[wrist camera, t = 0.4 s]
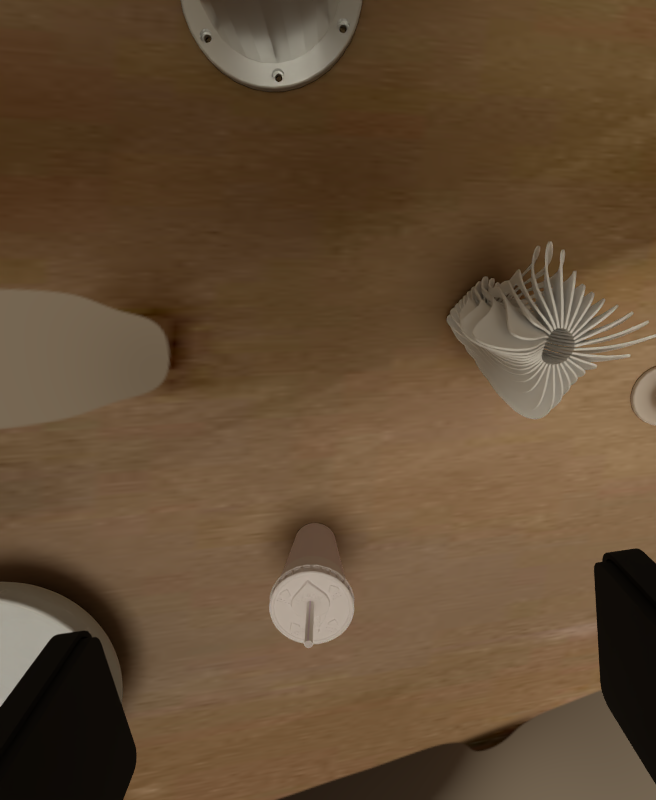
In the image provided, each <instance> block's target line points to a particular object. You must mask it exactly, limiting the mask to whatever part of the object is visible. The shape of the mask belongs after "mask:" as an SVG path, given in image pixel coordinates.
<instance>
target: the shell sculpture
mask: <svg viewBox="0 0 656 800" xmlns="http://www.w3.org/2000/svg"><path fill="white" fill-rule="evenodd" d="M539 253H540V246H537V247H536V248H535V251H534V254H533V258H532V263H531V265H530V266H529V267H528V268H527V269H526V270H525V271H524V272H523V273H522V274H521V270H520V269H518V270H517V271H516V272H515V274H514V275H513V276H512V277H511V279H510V280H507V281H504V282H502V283H501V284H500V283H499V282H496V283H495V286H494V282H495V279H494V278H491V279H490V280H489V283H488V277H486V276H484V277H483V278H482V280H481V281H478V282H477V283H476V285H475V286H474V287H472V288H471V291H468V292H467V295H465V296H463V299H461V300H459V303H457V304H456V305H455V308H452V309H451V311H450V314H449V315H448V316H447V323H448V324H449V326H450V327H451V329H452V331H453V333H454V335H455V336H456V338H457V339H458V340H459V341H460V342H461V343H462V344H463V345H465V348H466V351H467V352H468V354H469V355H470V356H471V357H472V358H473V359H475V362H476V364H477V366H478V368H479V369H480V371H481V372H482V373H483V374H484V376H485V377H486V378H487V379H488V381H489V382H490V384H491V386H492V387H493V388H494V390H495V391H496V392H497V394H498V395H499V396H500V397H501V398H502V399H503V400H504V401H505V402H506V403H507V404H508V405H509V406H510V407H511V408H512V409H513V410H514V411H516V412H517V413H518V414H520V415H522V416H524V417H527V418H530V419H540V418H542V417H544V416H546V415H547V414H548V413H549V412H550V410H551V409H552V408H554V407H555V406H556V405H557V404H558V403H559V402H560V401H561V399H562V396H563V395H564V394H565V393H566V392H568V390H569V389H570V386H571V385H573V384H574V383H575V382H576V381H577V379H578V378H577V377H581V376H583V375H584V374H585V370H590V369H595V368H597V365H596V364H593V363H590V362H599V361H609V360H616V359H622V358H627V357H630V354H627V355H611V356H603V355H589V353H600V352H606V351H611V350H615V349H619V348H623V347H627V346H630V345H634V344H637V343H640V342H643V341H646V340H649V339H652V338H654V337H656V334H655V335H652V336H648V337H645V338H642V339H638V340H635V341H631V342H627V343H622V344H617V345H610V346H603V347H594V348H573V347H577V346H582V345H588V344H596V343H601V342H605V341H609V340H612V339H615V338H618V337H621V336H624V335H626V334H629V333H631V332H633V331H636V330H638V329H640V328H641V327H643V326H645V325H647V324H648V323H649V321H645V322H643V323H641V324H639V325H637V326H634V327H632V328H630V329H627V330H624V331H622V332H619V333H616V334H613V335H610V336H606V337H602V338H597V339H591V340H584V339H586V338H589V337H591V336H593V335H596V334H598V333H601V332H604V331H607V330H609V329H611V328H614V327H616V326H617V325H619V324H621V323H623V322H624V321H626V320H627V319H628V318H630V317H631V316H632V315H633V314H634V313H633V312H630V313H629V314H627V315H625V316H624V317H622V318H620V319H618V320H616V321H614V322H612V323H610V324H607V325H605V326H602V327H600V328H597V329H594V330H590V329H591V328H593V327H594V326H596V325H597V324H599V323H600V322H601V321H603V320H604V319H605V318H607V317H608V316H609V315H610V314H611V313H612V312H614V311H615V310H616V309H617V307H618V305H616V306H614V307H613V308H611V309H609V310H608V311H606V312H605V313H603V314H601V315H599V316H597V317H595V318H593V319H592V317H593V316H594V315H595V314H596V313H597V312H598V311H599V310H600V308H601V307H602V305H603V304H604V302H605V299H604V298H603V299H601V300H600V301H599V302H597V303H596V304H594V305H592V306H591V307H590V305H591V303H592V301H593V298H594V293H593V292H590V293H589V294H587V295H586V296H584V292H585V285H584V284H581V285H579V286H578V287H577V288H575V281H576V271H573V273H572V275H571V276H570V277H569V278H568V279H567V280H566V281H565V282H563V270H562V266H563V263H564V259H565V251H564V250H561V254H560V267H559V269H558V271H557V272H556V273H555V274H554V275H553V276H552V277H550V278H549V275H548V265H549V263H550V261H551V259H552V255H553V244H552V242H551V241H550V242H548V244H547V247H546V253H545V267H544V268H543V269H542V270H541V271H539V272H538V273H537V274H534V264H535V261H536V260H537V258H538V256H539ZM531 268H532V269H531ZM530 269H531V278H529V279H528V280H527V281H525V282H523V279H522V277H523V276H524V275H525V274H526V273H527V272H528V271H529V270H530ZM543 275H544V281H543V282H541V283H538V284H537V282H536V279H537V278H539V277H541V276H543ZM529 282H531V283H532V287H531V288H529V289H526V287H525V284H526V283H529ZM516 285H517V286H518V287H517V288H516V289H515V290H514V287H515V286H516ZM493 287H494V288H493ZM551 287H553V288H551ZM540 288H544V291H542V292H540V290H539V289H540ZM574 288H575V289H574ZM519 289H520V290H521V291H522V293H520V294H518V295H517V294H516V292H517V291H518V290H519ZM487 290H488V291H487ZM532 290H533V292H534V295H531V296H530V295H529V293H528V291H532ZM508 294H509V295H508ZM507 295H508V296H507ZM521 295H524V296H525V298H524V299H522V300H520V299H519V298H520V296H521ZM506 296H507V297H506ZM543 296H544V298H543ZM583 296H584V297H583ZM494 297H495V299H494ZM512 297H514V298H512ZM498 298H499V299H498ZM532 298H535V299H536V302H533V300H532ZM486 299H487V302H486ZM497 299H498V301H496V300H497ZM502 300H503V301H502ZM489 301H490V302H489ZM501 301H502V302H501ZM526 303H528V304H526ZM536 304H537V306H538V308H537V306H536ZM530 308H532V309H530ZM532 311H533V312H532ZM588 330H589V331H588ZM582 340H583V341H582ZM550 343H552V344H550ZM554 344H557V345H554ZM558 345H562V346H558ZM563 346H569V347H563ZM545 349H548V350H551V351H548V350H545ZM552 351H555V352H552ZM556 352H559V353H556ZM560 353H562V354H560Z"/></svg>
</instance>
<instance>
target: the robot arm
mask: <svg viewBox="0 0 656 800" xmlns="http://www.w3.org/2000/svg"><path fill="white" fill-rule="evenodd" d="M181 5H182V10H183V14H184V16H185V19H186V22H187V24H188V27H189V30H190V32H191V34H192V35H193V37H194V39H195V41H196V42H197V44H198V45H199V47H200V49H201V50H202V51H203V53H204V54H205V56H206V57H207V58H208V60H209V61H210V62H211V63H212V64H213V65H214V66H215V67H216V68H218V69H219V70H220V71H221V72H222V73H223V74H225V75H226V76H228V77H229V78H231V79H232V80H234V81H235V82H237V83H240V84H242V85H244V86H247V87H249V88H252V89H257V90H262V91H267V92H273V91H288V90H292V89H296V88H300V87H302V86H305V85H307V84H309V83H311V82H313V81H315V80H317V79H318V78H319V77H321V76H322V75H323V74H325V73H326V72H327V71H329V70H330V69H331V68H332V66H333V65H334V64H335V63H336V62H337V61H338V60H339V59H340V58H341V56H342V55H343V53H344V52H345V50H346V48H347V47H348V45H349V43H350V42H351V40H352V37H353V35H354V32H355V30H356V27H357V24H358V21H359V16H360V11H361V7H362V0H181ZM341 27H345V28H346V30H347V31H346V32H345V33H341V32H340V30H339V29H340V28H341ZM207 37H211V38H212V39H211V41H210V42H209V43H206V42H205V40H206V38H207ZM277 76H281V77H282V81H281V82H277V81H276V77H277ZM594 576H595V594H596V612H597V630H598V648H599V665H600V683H601V689H602V693H603V696H604V699H605V701H606V703H607V705H608V707H609V709H610V710H611V712H612V714H613V715H614V717H615V719H616V720H617V722H618V723H619V725H620V727H621V728H622V730H623V732H624V733H625V735H626V737H627V738H628V740H629V741H630V743H631V744H632V746H633V748H634V750H635V751H636V753H637V754H638V756H639V758H640V759H641V761H642V763H643V764H644V766H645V768H646V769H647V771H648V772H649V774H650V776H651V777H652V779H653V780H654V782H655V784H656V563H655V562H654V561H652V560H651V559H650V558H649V557H648V556H647V555H646V554H645V553H644V552H643V551H641V550H640V549H629V550H622V551H615V552H609V553H605V554H604V556H603V559H602V562H598V563H596V564H595V566H594ZM135 765H136V747H135V744H134V741H133V738H132V735H131V732H130V729H129V726H128V723H127V719H126V716H125V713H124V710H123V707H122V704H121V701H120V698H119V695H118V692H117V689H116V686H115V683H114V680H113V677H112V674H111V671H110V668H109V665H108V662H107V659H106V656H105V653H104V650H103V647H102V644H101V642H100V640H99V639H98V638H97V637H92V635H91V634H90V633H89V632H88V631H85V630H84V631H77V632H70V633H63V634H57V635H55V636H53V637H52V638H51V639H50V640H49V642H48V643H47V644H46V646H45V647H44V648H43V650H42V651H41V652H40V654H39V655H38V656H37V658H36V659H35V661H34V662H33V663H32V665H31V666H30V667H29V669H28V670H27V671H26V673H25V674H24V675H23V677H22V678H21V679H20V681H19V682H18V684H17V685H16V686H15V688H14V689H13V690H12V692H11V693H10V694H9V696H8V697H7V698H6V700H5V701H4V702H3V704H2V705H1V707H0V800H123V799H124V796H125V793H126V791H127V788H128V786H129V783H130V780H131V778H132V775H133V773H134V769H135Z"/></svg>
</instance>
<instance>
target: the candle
mask: <svg viewBox="0 0 656 800" xmlns="http://www.w3.org/2000/svg"><path fill="white" fill-rule="evenodd" d="M631 405H632V409H633V411H634V413H635V414H636V416H637V417H639V418H640V419H641V420H642V421H644V422H646V423H649V424H651V425H656V367H654V368H651V369H649V370H648V371H646V372H645V373H643V374H642V375H641V377H640V378H639V379H638V380H637V381H636V383H635V385H634V387H633V389H632V393H631Z"/></svg>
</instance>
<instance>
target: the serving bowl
mask: <svg viewBox="0 0 656 800" xmlns="http://www.w3.org/2000/svg"><path fill="white" fill-rule="evenodd" d="M84 630H85V631H88V632H89V633H90V634H91V635H92V637H97V638H98V639H99V640H100V642H101V644H102V647H103V650H104V653H105V656H106V659H107V662H108V665H109V668H110V671H111V674H112V677H113V680H114V683H115V686H116V689H117V692H118V695H119V698H120V701H121V704H122V697H123V682H122V674H121V668H120V664H119V660H118V657H117V654H116V652H115V650H114V647H113V645H112V643H111V641H110V640H109V638H108V636H107V635H106V633H105V632H104V630H103V629H102V628H101V626H100V625H99V624H98V623H97V622H96V620H95V619H94V618H93V617H92V616H91V615H90V614H89V613H87V612H86V611H85V610H84V609H83V608H81V607H80V606H79V605H77V604H76V603H74V602H73V601H71V600H70V599H68V598H66V597H64V596H62V595H60V594H58V593H56V592H53V591H51V590H48V589H45V588H42V587H39V586H35V585H31V584H25V583H18V582H0V707H1V705H2V704H3V702H4V701H5V700H6V698H7V697H8V696H9V694H10V693H11V692H12V690H13V689H14V688H15V686H16V685H17V684H18V682H19V681H20V679H21V678H22V677H23V675H24V674H25V673H26V671H27V670H28V669H29V667H30V666H31V665H32V663H33V662H34V661H35V659H36V658H37V656H38V655H39V654H40V652H41V651H42V650H43V648H44V647H45V646H46V644H47V643H48V642H49V640H50V639H51V638H52V637H53V636H55V635H57V634H63V633H70V632H77V631H84Z"/></svg>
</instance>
